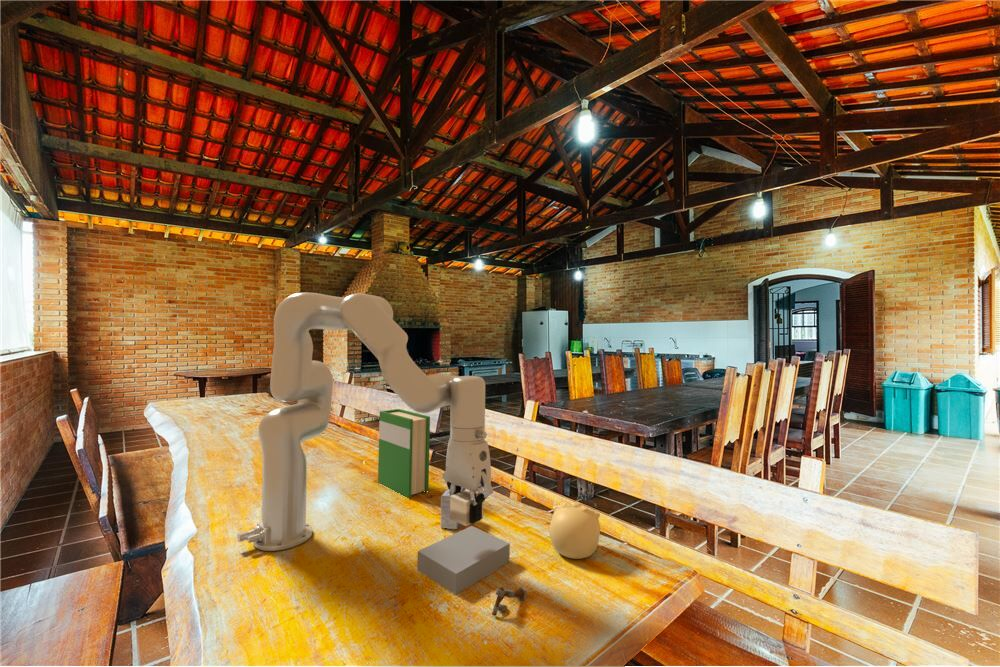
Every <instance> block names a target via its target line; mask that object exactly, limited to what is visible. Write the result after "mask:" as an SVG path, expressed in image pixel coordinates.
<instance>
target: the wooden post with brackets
mask: <svg viewBox="0 0 1000 667" xmlns="http://www.w3.org/2000/svg"><path fill="white" fill-rule="evenodd" d="M527 593H528V591H527V590H526V589H524V588H523V587H521V586H519V587H518V589H516V590H512V589H505V588H504V587H503V586H501V587H499V588H498V587H497V588H496V591H495V595H496V600H495V603H494V605H493V608H492V613H491V615H492V616H495V617H496V616H497V614H498V612H501V613H503V612H507V610H508V606H507V605H506V604H504V603H503V604H502V603H501V602H502V601H503V599H504V598H505V597H506V598H512V599H514V598H517V599H518V600H520V599H521V600H520V601H523V602H524V601H525V600H526V595H527Z"/></svg>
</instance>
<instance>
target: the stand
mask: <svg viewBox="0 0 1000 667" xmlns="http://www.w3.org/2000/svg"><path fill="white" fill-rule="evenodd" d="M510 548H511V543H509V542H507V541H505V540H503V539H501V538H499V537H496V536H495V535H493V534H491V533H488V532H486V531H483V530H481V529H480V528H477V527H475V526H473V525H471V526H470V525H469V526H467V527H466V528H464V529H462V530H459V531H458V532H455V533H453V534H452V535H450V536H447V537H445V538H443V539H441V540H439V541H436V542H435V543H432V544H430V545H427V546H426V547H424V548H422V549H419V550H418V551H417V566H416V567H417V569H416V570H417V571H418V572H420V574H422V575H425V577H427V578H429V579H430V580H432V581H434V582H435V583H437V584H438V585H440V586H441V587H442V588H444V589H446V590H448V591H449V592H451V593H452V594H454V595H458V594H459V593H461V592H462V591H464V590H466V589H468V588H469V587H470V586H472V585H474V584H476V583H477V582H479V581H480V580H482V579H484V578H485V577H487V576H489V575H490V574H492V573H493V572H495V571H497V570H498V569H500V568H502V567H503V566H505V565H506V564H507V563H509V562H510V555H511V554H510V551H511V549H510Z"/></svg>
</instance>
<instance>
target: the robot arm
mask: <svg viewBox="0 0 1000 667" xmlns="http://www.w3.org/2000/svg"><path fill="white" fill-rule="evenodd" d="M393 318H394V310H393V308H392V305H391V303H390V302H389V301H388V300H387V299H385V298H384V297H381V296H378V295H375V294H373V295H372V294H368V293H359V292H356V293H352V294H350V295H348V296H346V297H344V296H342V297H341V296H335V295H328V294H325V293H324V294H323V293H318V292H296V293H293V294H291V295H289V296H286V297H285V298H284V299H283V300H282V301H281V302H280V303H279V304H278V305H277V308H276V310H275V313H274V316H273V337H274V338H273V340H274V342H273V343H274V344H273V351H272V359H271V371H270V372H271V373H270V382H269V383H270V384H269V390H270V394H271V395H272V397H273V398H274V400H276V401H278V402H282V403H283V402H284V403H288V402H289V403H290V402H296V401H297V403H295V404H291V405H287V406H286V405H285V406H282V407H278V408H275V409H272V410H271V411H269V412H268V413H266V414H265V415H264V416H263V417H262V418H261V420H260V422H259V425H258V431H257V432H258V438H259V443H260V447H261V448H260V449H261V457H262V459H261V460H262V474H261V475H262V487H261V491H262V493H261V521H260V520H259V521H257V522H256V526H254V527H252V529H249V530H246V531H242V532H239V533H237V536H236V538H237V542H238V543H242V542H244V541H247V543H248V544H250V543H253V544H252V545H253V547H255V548H256V549H257V550H261V551H266V552H267V551H268V552H269V551H270V552H273V551H274V552H275V551H283V550H287V549H292V548H294V547H298V546H299V545H302V544H303V543H305V542H306V541H308V540H309V539H310V538H311V537H312V535H313V526H312V525H310V523H307V519H306V518H307V489H308V488H307V484H308V482H307V481H308V476H307V475H308V462H307V461H308V460H307V456H306V454H305V452H304V449H303V446H302V443H304V442H306V441H308V440H312V439H314V438H317V437H318V436H320V435H321V434H323V433H325V431H326V429H327V428H328V425H329V422H330V417H331V410H332V409H331V408H332V399H333V398H332V396H333V386H334V381H333V375H332V372H331V370H330V368H329V367H328V365H327V364H325V363H324V362H323V361H319V360H314V359H313V354H314V353H313V352H314V344H313V339H312V336H311V334H310V332H309V331H310V330H335V331H337V330H338V331H339V330H340V331H352V333H353V334H354V335H355V337H357V338H358V340H360V342H362V343H363V344H364V346H366V348H367V349H368V350H369V351H370V352H371V353H372V354H373V355H374V357H375V358H376V359H377V360H378V363H379V368H380V370H381V371H380V372H381V373H382V376H383V378H384V379H385V382H386V383H387V384H388V386H389V387H390V389H391V390H392V391H393V392H394V393H395V394H396V395H397V396H398V398H399V399H400V400H401V401H402V402H403V403H404V404H405V405H406V406H408V407H409V408H410V409H412V410H413V411H415V412H416V413H419V414H421V413H422V414H427V413H431V412H433V411H436V410H438V409H441V408H444V407H447V406H450V408H449V410H450V411H449V412H450V413H449V415H450V416H449V420H450V421H449V439H448V443H447V449H446V456H445V471H444V473H443V474H442V478H443V480H444V481H445V483H446V486H447V489H448V488H449V490H450V492H449V494H450V496H451V495H454V494H457V493H459V492H462V489H463V488H465V489H466V490H469V491H470V496H471V501H472V504H470V523H471V524H470V525H473V524H475V523H477V522H480V521H481V520H483V519H482V502H483V503H484V502H485V501H486V500H487V499H488V498H489V497H490V496H491V495H492V494H493V493H494V488H493V487H492V483H491V482H492V471H491V470H492V467H491V464H492V463H491V456H490V448H489V444H488V440H485V439H486V438H487V435H488V433H487V432H486V431H485V430H486V423H485V422H486V381H485V380H484V378H483V377H481V376H475V375H463V376H462V375H461V376H460V375H459V376H458V375H452V374H447V373H433V374H426V373H424V371H423V370H422V369H421V368H420V366H418V365H417V364H416V363H415V361H413V358H412V357H411V356H410V355H409V352H408V349H407V343H408V340H409V336H408V334H407V332H405V330H404V329H403V328H402V327H401V326H400V325H399V324H398V323H396V321H395V320H394V319H393ZM476 493H478V496H477V497H476Z"/></svg>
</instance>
